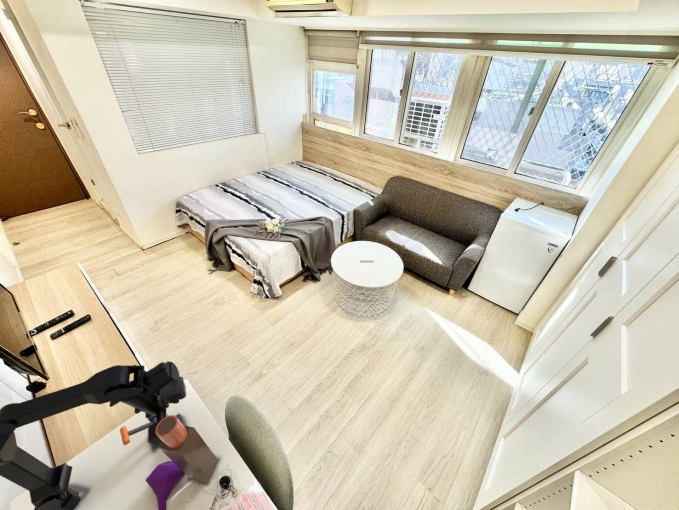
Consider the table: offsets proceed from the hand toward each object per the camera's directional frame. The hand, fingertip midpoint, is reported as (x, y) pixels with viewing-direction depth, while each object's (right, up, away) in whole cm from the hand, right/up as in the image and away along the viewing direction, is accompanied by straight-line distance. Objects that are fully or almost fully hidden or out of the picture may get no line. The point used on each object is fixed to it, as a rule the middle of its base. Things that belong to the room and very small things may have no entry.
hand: (178, 415), depth 83 cm
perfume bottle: (-2, -13, -2) cm, 14 cm away
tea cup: (+7, +2, -12) cm, 14 cm away
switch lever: (-13, -7, +3) cm, 15 cm away
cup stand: (+7, -18, +1) cm, 20 cm away
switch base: (-10, -12, +10) cm, 19 cm away
